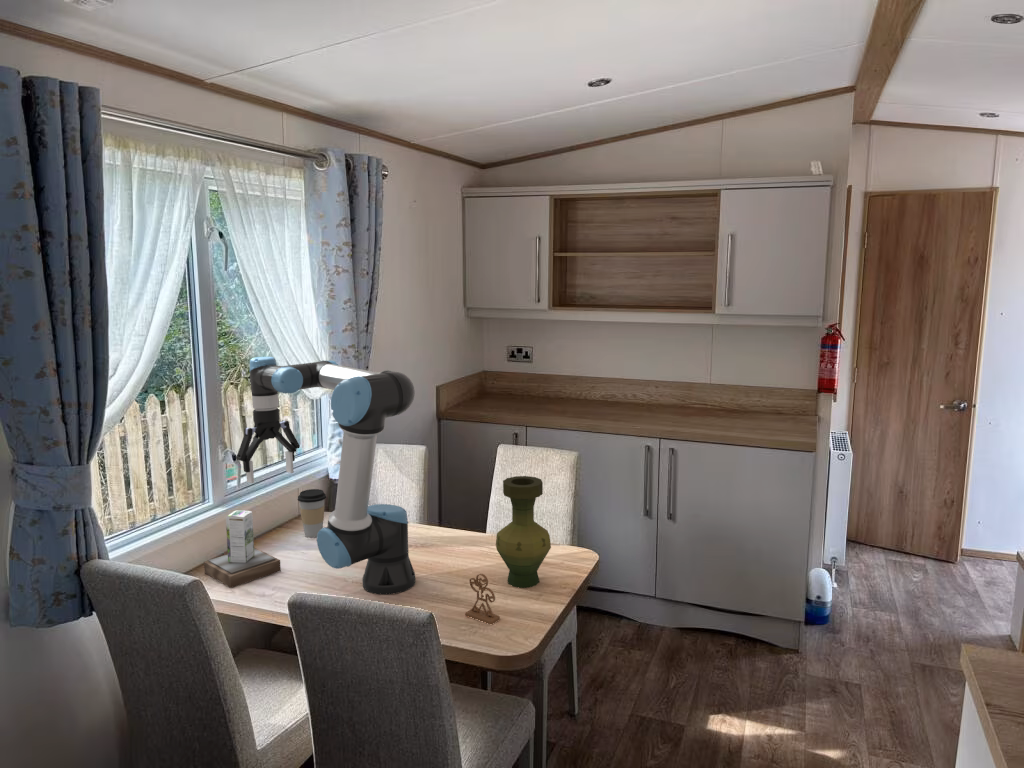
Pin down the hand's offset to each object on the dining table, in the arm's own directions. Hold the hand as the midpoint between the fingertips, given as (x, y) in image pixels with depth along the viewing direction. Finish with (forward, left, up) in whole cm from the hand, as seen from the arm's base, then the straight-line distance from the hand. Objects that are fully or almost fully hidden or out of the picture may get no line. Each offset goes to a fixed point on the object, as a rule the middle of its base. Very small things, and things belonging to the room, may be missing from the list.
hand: (270, 477), depth 231 cm
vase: (-66, -41, -28) cm, 83 cm away
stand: (+2, +10, -28) cm, 30 cm away
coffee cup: (+13, -22, -28) cm, 38 cm away
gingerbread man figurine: (-73, -17, -28) cm, 80 cm away
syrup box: (+2, +10, -24) cm, 26 cm away
